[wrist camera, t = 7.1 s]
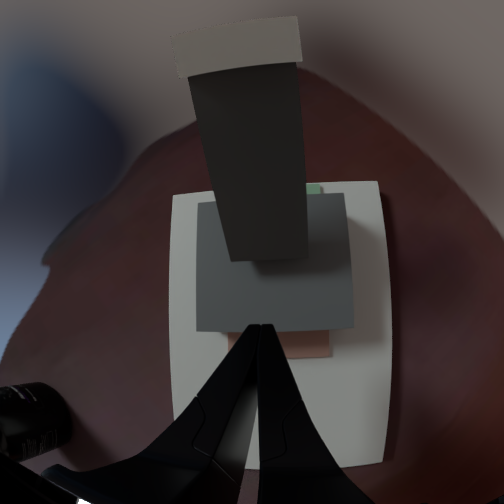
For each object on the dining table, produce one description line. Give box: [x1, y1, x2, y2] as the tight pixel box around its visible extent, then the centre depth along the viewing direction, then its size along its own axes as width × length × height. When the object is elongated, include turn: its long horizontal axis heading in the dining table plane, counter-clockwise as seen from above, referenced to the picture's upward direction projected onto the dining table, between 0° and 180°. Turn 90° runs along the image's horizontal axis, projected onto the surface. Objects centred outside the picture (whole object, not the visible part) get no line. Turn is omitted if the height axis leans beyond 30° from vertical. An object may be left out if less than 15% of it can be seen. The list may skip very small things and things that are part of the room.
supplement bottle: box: [0, 382, 71, 463], centre depth 14 cm, size 7×7×12 cm
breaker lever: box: [171, 16, 309, 262], centre depth 11 cm, size 2×4×10 cm
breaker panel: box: [169, 181, 392, 469], centre depth 16 cm, size 19×14×4 cm
